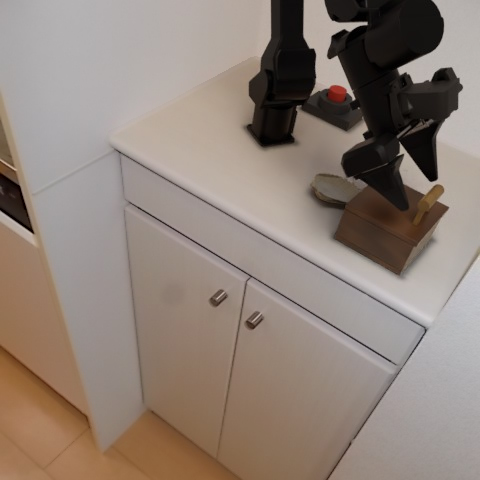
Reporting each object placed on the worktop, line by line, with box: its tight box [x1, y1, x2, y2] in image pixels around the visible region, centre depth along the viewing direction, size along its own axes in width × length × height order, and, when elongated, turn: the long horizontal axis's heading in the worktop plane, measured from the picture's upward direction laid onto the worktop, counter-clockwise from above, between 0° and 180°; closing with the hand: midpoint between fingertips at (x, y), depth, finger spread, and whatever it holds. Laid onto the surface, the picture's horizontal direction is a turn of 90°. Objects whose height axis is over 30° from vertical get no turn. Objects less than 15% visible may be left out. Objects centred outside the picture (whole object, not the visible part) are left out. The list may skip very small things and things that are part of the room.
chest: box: [333, 208, 442, 276], centre depth 74 cm, size 11×11×5 cm
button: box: [327, 84, 348, 102], centre depth 95 cm, size 3×3×2 cm
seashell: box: [309, 172, 361, 205], centre depth 80 cm, size 8×3×8 cm
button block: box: [300, 87, 363, 132], centre depth 97 cm, size 10×6×4 cm, turn 54°
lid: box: [344, 183, 450, 247], centre depth 70 cm, size 11×11×5 cm
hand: (420, 195), depth 69 cm, fingers open, 9 cm apart
